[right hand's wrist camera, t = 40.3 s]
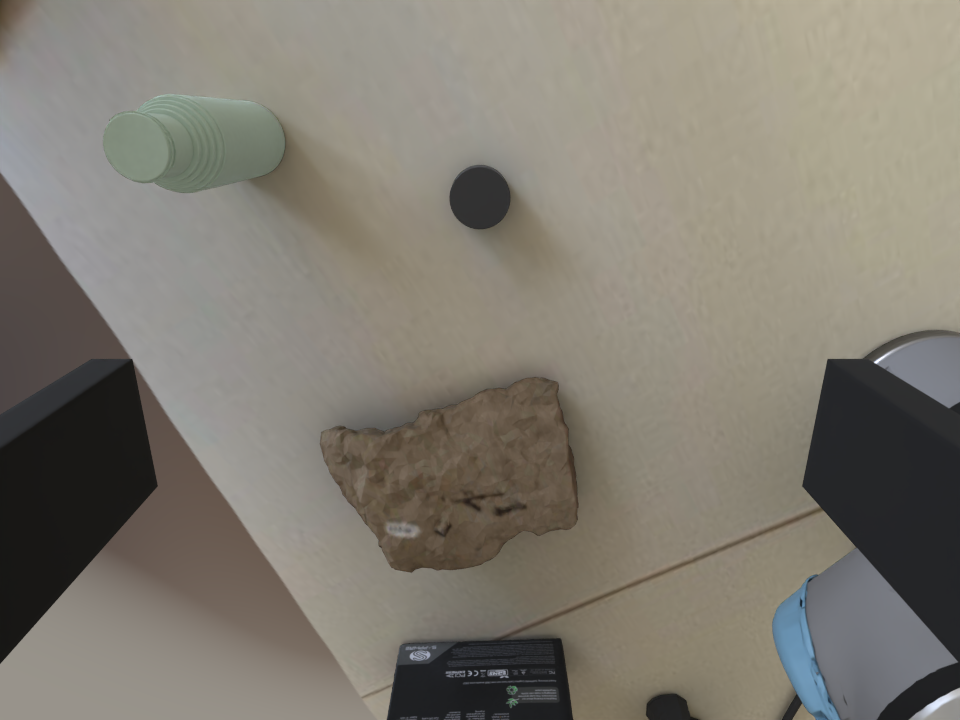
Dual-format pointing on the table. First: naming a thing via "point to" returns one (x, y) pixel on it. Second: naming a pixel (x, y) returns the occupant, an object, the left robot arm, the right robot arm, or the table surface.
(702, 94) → the table surface
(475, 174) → the cap
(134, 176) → the bottle
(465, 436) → the stone
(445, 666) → the graphics card box
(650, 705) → the robot
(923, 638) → the right robot arm
